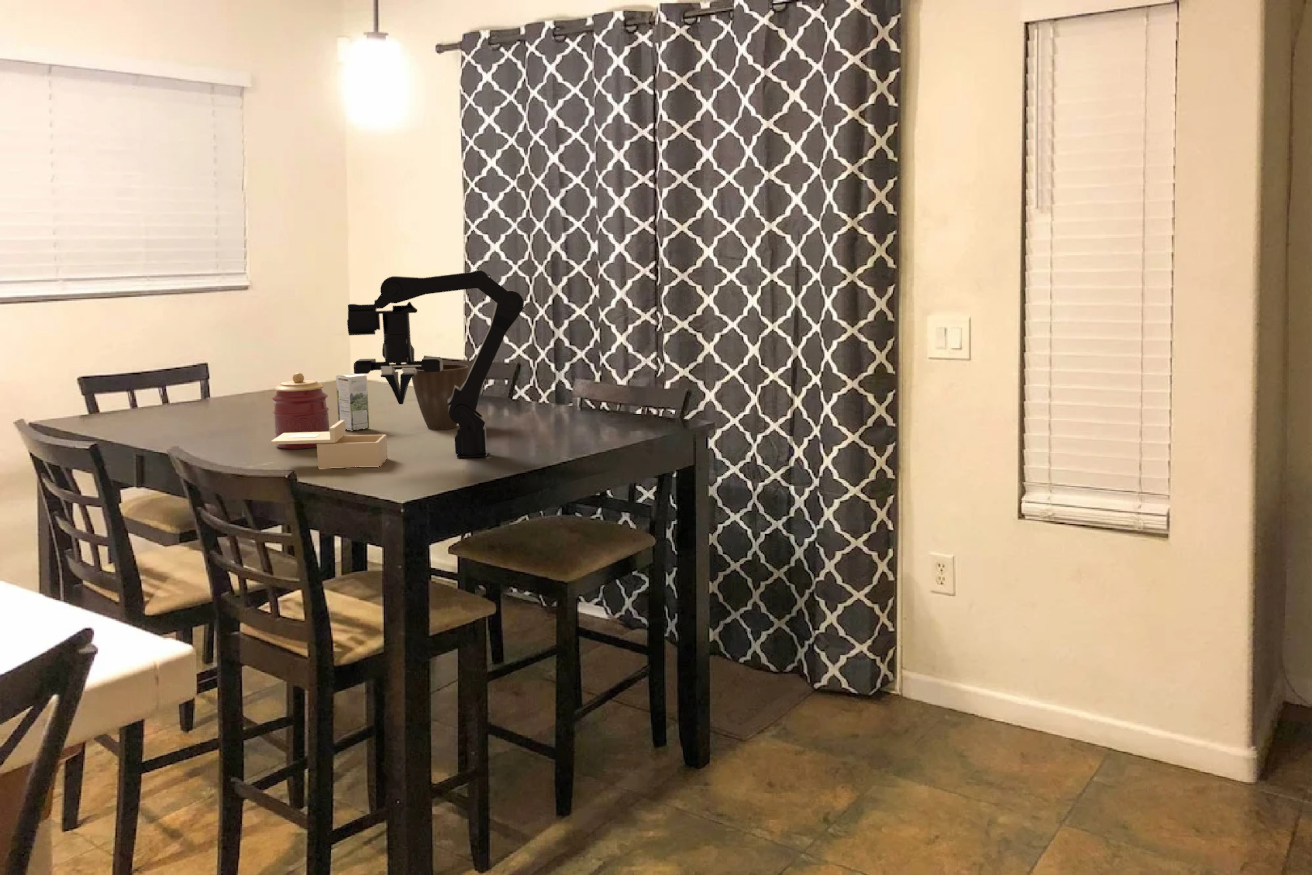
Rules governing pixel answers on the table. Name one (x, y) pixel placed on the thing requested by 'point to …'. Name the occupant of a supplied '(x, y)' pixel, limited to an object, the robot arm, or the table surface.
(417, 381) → the plant pot
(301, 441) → the cream angled plate
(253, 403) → the table surface
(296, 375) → the canister
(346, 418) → the syrup box
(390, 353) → the robot arm
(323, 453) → the base
